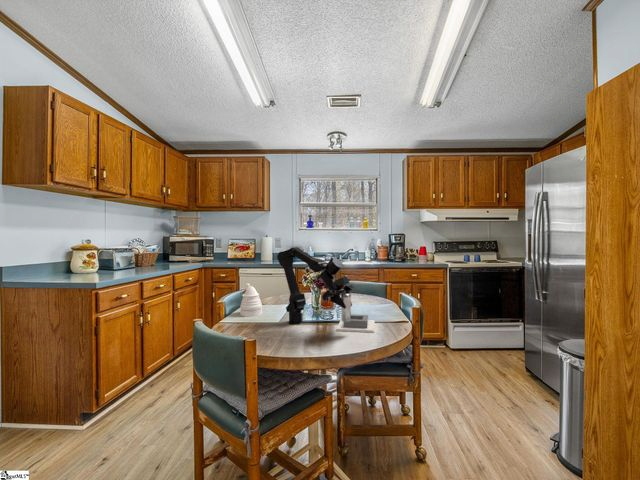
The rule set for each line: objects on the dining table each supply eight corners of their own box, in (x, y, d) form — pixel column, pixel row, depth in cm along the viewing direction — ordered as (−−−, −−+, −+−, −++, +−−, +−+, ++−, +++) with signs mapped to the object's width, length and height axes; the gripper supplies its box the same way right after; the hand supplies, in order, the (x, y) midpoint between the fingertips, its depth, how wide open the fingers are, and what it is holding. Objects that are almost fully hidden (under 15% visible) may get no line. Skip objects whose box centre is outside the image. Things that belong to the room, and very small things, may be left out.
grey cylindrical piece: (340, 321, 151) (340, 294, 151) (341, 319, 155) (341, 293, 155) (350, 322, 150) (350, 295, 150) (351, 319, 155) (351, 293, 154)
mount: (336, 330, 159) (336, 321, 159) (341, 320, 177) (340, 312, 177) (373, 332, 156) (373, 323, 156) (374, 322, 174) (374, 313, 173)
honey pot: (236, 315, 191) (235, 285, 190) (247, 310, 203) (246, 281, 202) (255, 317, 187) (255, 286, 186) (265, 311, 199) (265, 282, 199)
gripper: (326, 272, 148) (346, 299, 141) (350, 268, 162) (369, 293, 155) (313, 287, 153) (332, 314, 146) (338, 282, 167) (356, 307, 160)
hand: (348, 307), depth 152 cm, fingers closed on grey cylindrical piece, 4 cm apart
